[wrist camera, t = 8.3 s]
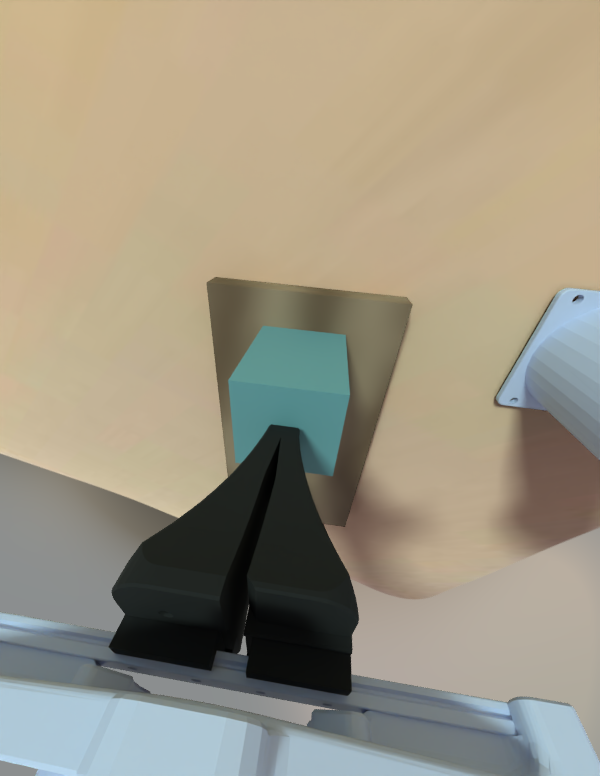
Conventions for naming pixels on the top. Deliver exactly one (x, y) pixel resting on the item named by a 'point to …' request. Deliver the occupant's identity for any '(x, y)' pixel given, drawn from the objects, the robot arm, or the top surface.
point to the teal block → (292, 393)
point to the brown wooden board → (320, 314)
